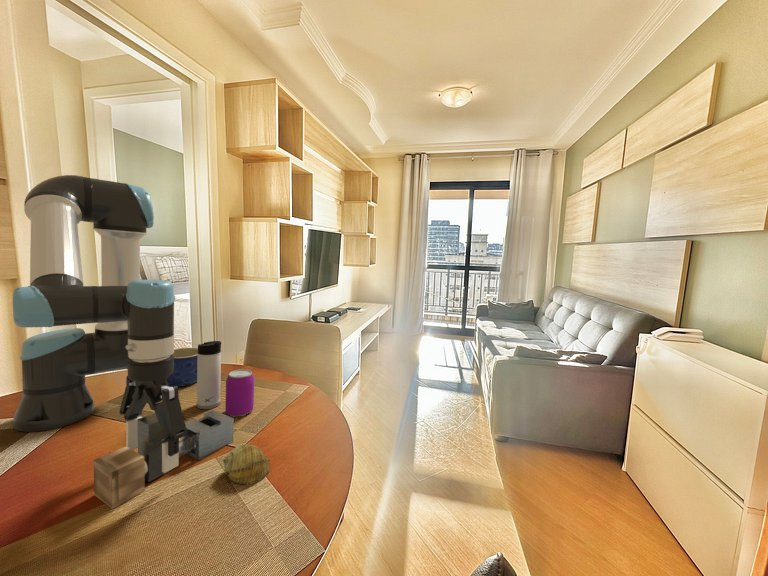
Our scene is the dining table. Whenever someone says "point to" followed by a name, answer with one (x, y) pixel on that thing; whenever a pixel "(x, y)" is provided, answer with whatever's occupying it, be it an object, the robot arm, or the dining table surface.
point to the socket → (119, 476)
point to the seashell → (246, 464)
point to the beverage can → (239, 393)
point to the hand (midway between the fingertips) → (151, 458)
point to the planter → (184, 367)
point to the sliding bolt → (156, 445)
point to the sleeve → (210, 433)
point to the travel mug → (208, 374)
